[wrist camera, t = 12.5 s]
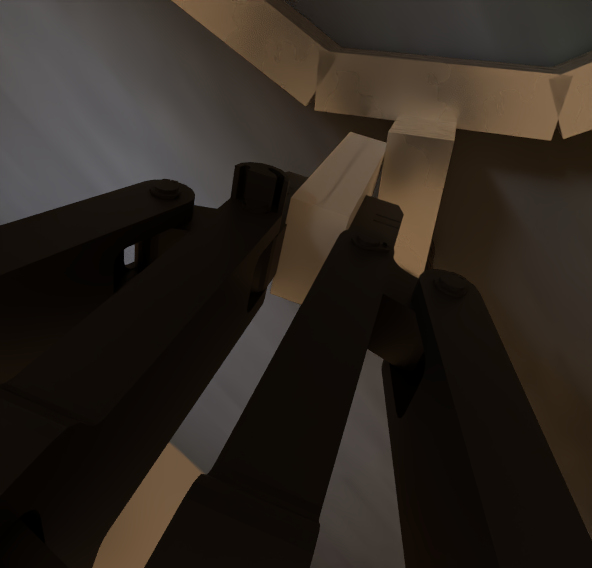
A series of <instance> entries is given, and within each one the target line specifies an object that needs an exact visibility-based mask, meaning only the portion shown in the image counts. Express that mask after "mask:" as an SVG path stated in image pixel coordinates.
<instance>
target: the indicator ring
mask: <svg viewBox="0 0 592 568" xmlns="http://www.w3.org/2000/svg"><path fill="white" fill-rule="evenodd" d="M172 1H173V2H174V3H175V4H177V5H178V6H179V7H180V8H182V9H183V10H184V11H186V12H187V13H188V14H189V15H191V16H192V17H193V18H194V19H196V20H197V21H198V22H199V23H201V24H202V25H203V26H204V27H206V28H207V29H208V30H210V31H211V32H212V33H213V34H215V35H216V36H217V37H218V38H220V39H221V40H222V41H223V42H225V43H226V44H227V45H229V46H230V47H231V48H232V49H234V50H235V51H236V52H237V53H239V54H240V55H241V56H242V57H244V58H245V59H246V60H247V61H249V62H250V63H251V64H253V65H254V66H255V67H256V68H258V69H259V70H260V71H261V72H263V73H264V74H265V75H266V76H268V77H269V78H270V79H272V80H273V81H274V82H275V83H277V84H278V85H279V86H280V87H282V88H283V89H284V90H285V91H287V92H288V93H289V94H290V95H292V96H293V97H294V98H296V99H297V100H298V101H299V102H301V103H302V104H303V105H304V106H307V105H309V104H310V103H312V102H313V101H315V110H316V111H324V112H332V113H339V114H347V115H355V116H363V117H370V118H378V119H386V120H394V121H395V122H394V124H393V125H392V127H391V128H390V130H389V132H388V137H387V143H386V150H385V156H384V162H383V168H382V175H381V181H380V187H379V194H378V199H380V200H383V201H387V202H390V203H393V204H396V205H399V207H400V208H401V210H402V212H403V214H404V216H403V219H402V222H401V226H400V229H399V233H398V236H397V239H396V243H395V246H394V251H395V253H394V257H393V258H394V260H395V261H396V263H397V264H398V265H399V266H400V267H401V268H402V269H404V270H405V271H406V272H408V273H410V274H411V275H413V276H415V277H417V278H419V276H420V274H421V273H423V272H424V271H425V270H431V269H432V268H433V261H434V254H435V248H434V243H433V240H432V235H433V231H434V226H435V222H436V218H437V214H438V209H439V205H440V201H441V196H442V192H443V188H444V184H445V179H446V175H447V171H448V167H449V162H450V158H451V154H452V149H453V145H454V141H455V132H456V129H464V130H472V131H479V132H487V133H495V134H503V135H511V136H518V137H526V138H534V139H542V140H550V141H551V139H552V136H553V133H554V130H555V128H556V129H557V131H558V132H559V134H560V135H561V137H562V138H563V139H566V138H568V137H571V136H574V135H577V134H580V133H583V132H586V131H589V130H592V51H590V52H588V53H585V54H583V55H580V56H578V57H575V58H573V59H571V60H568V61H566V62H563V63H561V64H559V65H556V66H554V67H544V66H534V65H523V64H513V63H502V62H492V61H482V60H471V59H461V58H450V57H440V56H429V55H419V54H408V53H398V52H387V51H377V50H366V49H356V48H345V47H341V46H339V45H338V44H337V43H336V42H334V41H333V40H332V39H331V38H330V37H328V36H327V35H326V34H325V33H323V32H322V31H321V30H320V29H318V28H317V27H316V26H315V25H313V24H312V23H311V22H310V21H308V20H307V19H306V18H305V17H303V16H302V15H301V14H300V13H299V12H297V11H296V10H295V9H294V8H292V7H291V6H290V5H289V4H287V3H286V2H285V1H284V0H172Z"/></svg>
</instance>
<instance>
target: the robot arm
mask: <svg viewBox="0 0 592 568" xmlns="http://www.w3.org/2000/svg"><path fill="white" fill-rule="evenodd" d="M385 150H386V142H383V141H379V140H376V139H373V138H369V137H366V136H363V135H360V134H356V133H353V132H349V134H348V135H347V136H346V137H345V138H344V139H343V140H342V141H341V142H340V144H339V145H338V146H337V147H336V148H335V149H334V150H333V151H332V152H331V154H330V155H329V156H328V157H327V158H326V159H325V160H324V161H323V162H322V164H321V165H320V166H319V167H318V168H317V169H316V170H315V171H314V172H313V174H312V175H311V176H310V177H309V178H308V177H304V176H301V175H298V174H295V173H292V172H284V171H282V170H281V169H278V168H276V167H273V166H270V165H266V164H262V163H254V162H247V163H240V164H237V165H235V170H234V177H233V184H232V192H231V198H230V199H229V200H228V201H226V202H225V203H224V204H223V205H222V206H220V207H219V208H218V209H215V208H208V207H202V206H196V205H194V200H195V194H194V192H193V190H192V189H191V188H189V187H188V186H186V185H184V184H181V183H178V181H174V180H171V181H170V179H162V180H150V181H144V182H141V183H138V184H135V185H131V186H128V187H125V188H122V189H118V190H115V191H112V192H108V193H105V194H102V195H99V196H95V197H92V198H89V199H85V200H82V201H79V202H76V203H72V204H69V205H66V206H63V207H59V208H56V209H53V210H49V211H46V212H43V213H40V214H36V215H33V216H30V217H27V218H23V219H20V220H17V221H13V222H10V223H7V224H4V225H0V568H92V567H93V564H94V561H95V558H96V556H97V553H98V550H99V547H100V545H101V543H102V541H103V539H104V537H105V536H106V534H107V532H108V531H109V529H110V528H111V526H112V525H113V523H114V522H115V520H116V519H117V517H118V516H119V515H120V513H121V511H122V510H123V509H124V507H125V506H126V504H127V503H128V501H129V500H130V498H131V497H132V495H133V494H134V492H135V491H136V490H137V488H138V487H139V485H140V484H141V482H142V481H143V479H144V478H145V476H146V475H147V473H148V472H149V470H150V469H151V467H152V466H153V465H154V463H155V462H156V460H157V459H158V457H159V456H160V454H161V453H162V451H163V450H164V448H165V447H166V445H167V444H168V443H169V441H170V440H171V438H172V437H173V435H174V434H175V432H176V431H177V429H178V428H179V426H180V425H181V423H182V422H183V420H184V419H185V418H186V416H187V415H188V413H189V412H190V410H191V409H192V407H193V406H194V404H195V403H196V401H197V400H198V398H199V397H200V396H201V394H202V393H203V391H204V390H205V388H206V387H207V385H208V384H209V382H210V381H211V379H212V378H213V376H214V375H215V373H216V372H217V371H218V369H219V368H220V366H221V365H222V363H223V362H224V360H225V359H226V357H227V356H228V354H229V353H230V351H231V350H232V348H233V347H234V346H235V344H236V343H237V341H238V340H239V338H240V337H241V335H242V334H243V332H244V331H245V329H246V328H247V326H248V325H249V324H250V322H251V321H252V319H253V318H254V316H255V315H256V313H257V312H258V310H259V309H260V307H261V306H262V304H263V302H264V299H265V295H266V290H267V286H268V285H269V283H270V282H271V280H272V279H273V282H272V287H271V292H270V293H271V294H273V295H276V296H279V297H282V298H284V299H287V300H290V301H293V302H295V303H298V304H301V306H300V308H299V310H298V312H297V314H296V315H295V317H294V319H293V321H292V323H291V325H290V326H289V328H288V330H287V332H286V334H285V336H284V337H283V339H282V341H281V343H280V345H279V347H278V348H277V350H276V352H275V354H274V356H273V358H272V359H271V361H270V363H269V365H268V367H267V369H266V371H265V372H264V374H263V376H262V378H261V380H260V382H259V383H258V385H257V387H256V389H255V391H254V393H253V394H252V396H251V398H250V400H249V402H248V404H247V405H246V407H245V409H244V411H243V413H242V415H241V416H240V418H239V420H238V422H237V424H236V426H235V428H234V429H233V431H232V433H231V435H230V437H229V439H228V440H227V442H226V444H225V446H224V448H223V450H222V451H221V453H220V455H219V457H218V459H217V461H216V462H215V464H214V466H213V467H212V469H211V471H210V472H209V473H208V474H207V475H206V474H201V475H200V476H199V477H198V478H197V479H196V480H195V482H194V483H193V484H192V486H191V487H190V489H189V491H188V492H187V494H186V495H185V497H184V499H183V500H182V502H181V504H180V506H179V507H178V509H177V511H176V513H175V515H174V516H173V518H172V520H171V521H170V523H169V525H168V527H167V528H166V530H165V532H164V534H163V535H162V537H161V539H160V541H159V542H158V544H157V546H156V548H155V550H154V551H153V553H152V555H151V557H150V558H149V560H148V562H147V564H146V565H145V567H144V568H310V565H311V561H312V557H313V554H314V550H315V546H316V542H317V538H318V534H319V528H320V524H319V517H320V513H321V509H322V506H323V502H324V499H325V495H326V492H327V488H328V485H329V481H330V478H331V474H332V471H333V467H334V464H335V460H336V457H337V453H338V450H339V446H340V443H341V439H342V436H343V432H344V429H345V425H346V422H347V418H348V415H349V411H350V408H351V404H352V401H353V397H354V394H355V390H356V386H357V383H358V379H359V376H360V372H361V369H362V365H363V362H364V358H365V355H366V351H367V349H369V350H370V351H372V352H373V353H375V354H377V355H378V356H380V357H381V358H383V359H384V360H383V363H382V377H383V386H384V394H385V402H386V410H387V419H388V427H389V435H390V443H391V451H392V460H393V468H394V476H395V484H396V493H397V501H398V509H399V517H400V526H401V534H402V542H403V550H404V559H405V567H406V568H592V540H591V538H590V536H589V534H588V532H587V529H586V527H585V525H584V523H583V520H582V518H581V516H580V514H579V512H578V509H577V507H576V505H575V503H574V501H573V498H572V496H571V494H570V492H569V489H568V487H567V485H566V483H565V481H564V478H563V476H562V474H561V472H560V469H559V467H558V465H557V463H556V461H555V458H554V456H553V454H552V452H551V450H550V447H549V445H548V443H547V441H546V438H545V436H544V434H543V432H542V430H541V427H540V425H539V423H538V421H537V419H536V416H535V414H534V412H533V410H532V407H531V405H530V403H529V401H528V399H527V396H526V394H525V392H524V390H523V388H522V385H521V383H520V381H519V379H518V376H517V374H516V372H515V370H514V368H513V365H512V363H511V361H510V359H509V357H508V354H507V352H506V350H505V348H504V345H503V343H502V341H501V339H500V337H499V334H498V332H497V330H496V328H495V325H494V323H493V321H492V319H491V317H490V314H489V312H488V310H487V308H486V306H485V303H484V301H483V299H482V297H481V294H480V293H479V291H478V290H477V289H476V287H475V286H474V285H473V284H471V283H470V282H469V281H468V280H466V278H464V277H462V276H461V275H460V276H459V274H456V273H454V272H448V271H445V270H438V269H431V270H425V271H424V272H423V273H421V274H420V276H419V278H417V277H415V276H413V275H411V274H410V273H408V272H406V271H405V270H404V269H402V268H401V267H400V266H399V265H398V264H397V263H396V261H395V260H394V258H393V257H394V253H395V251H394V246H395V243H396V239H397V236H398V233H399V229H400V226H401V222H402V219H403V216H404V214H403V212H402V210H401V208H400V207H399V205H396V204H393V203H390V202H387V201H383V200H380V199H377V198H374V197H372V195H373V192H374V189H375V186H376V183H377V180H378V177H379V174H380V171H381V168H382V164H383V161H384V156H385ZM134 244H135V262H132V263H130V264H127V265H125V264H124V249H126V248H127V247H129V246H131V245H134ZM273 277H274V278H273Z"/></svg>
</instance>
